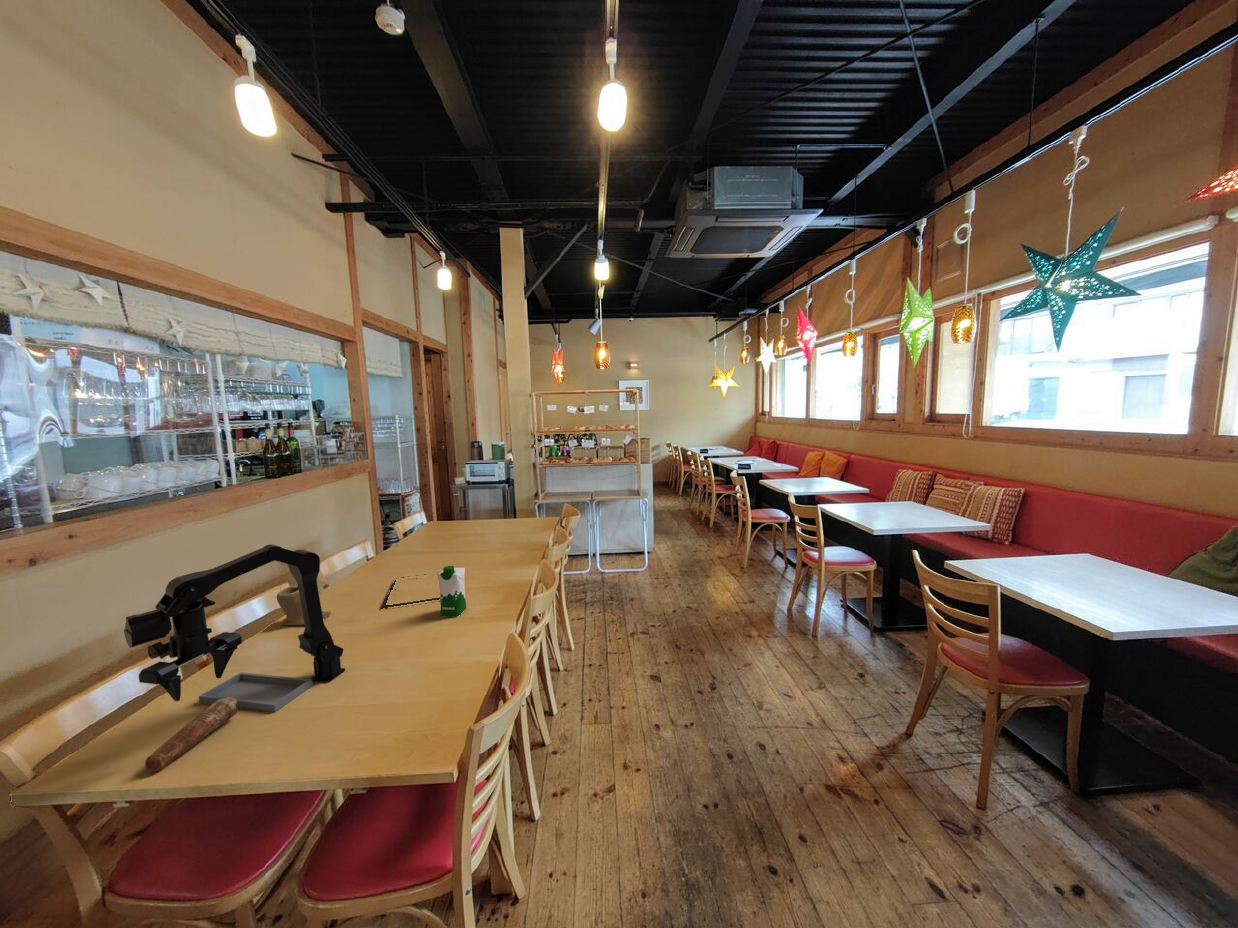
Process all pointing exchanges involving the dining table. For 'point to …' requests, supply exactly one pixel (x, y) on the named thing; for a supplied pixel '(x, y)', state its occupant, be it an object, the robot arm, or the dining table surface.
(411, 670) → the dining table surface
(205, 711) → the brown tapered rod
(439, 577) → the milk carton
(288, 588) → the stone cup
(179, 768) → the dining table surface
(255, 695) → the serving tray
